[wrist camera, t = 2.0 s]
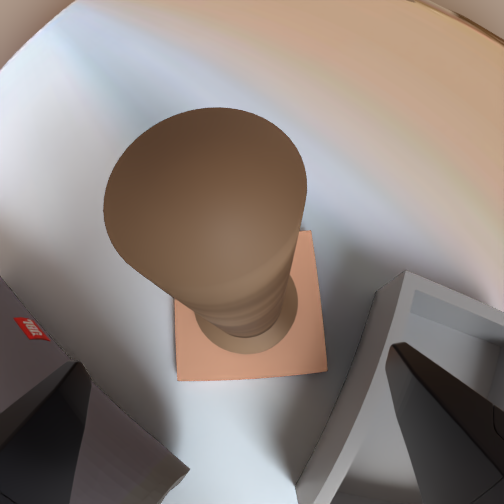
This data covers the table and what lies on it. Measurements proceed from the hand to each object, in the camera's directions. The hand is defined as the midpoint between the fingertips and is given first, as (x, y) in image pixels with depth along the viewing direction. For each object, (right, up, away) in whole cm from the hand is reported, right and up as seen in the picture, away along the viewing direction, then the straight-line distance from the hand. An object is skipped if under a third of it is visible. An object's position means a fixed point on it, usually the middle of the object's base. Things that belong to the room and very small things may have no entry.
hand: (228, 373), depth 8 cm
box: (+12, -8, +8) cm, 16 cm away
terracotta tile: (0, 0, +12) cm, 12 cm away
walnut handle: (0, 0, +11) cm, 11 cm away
